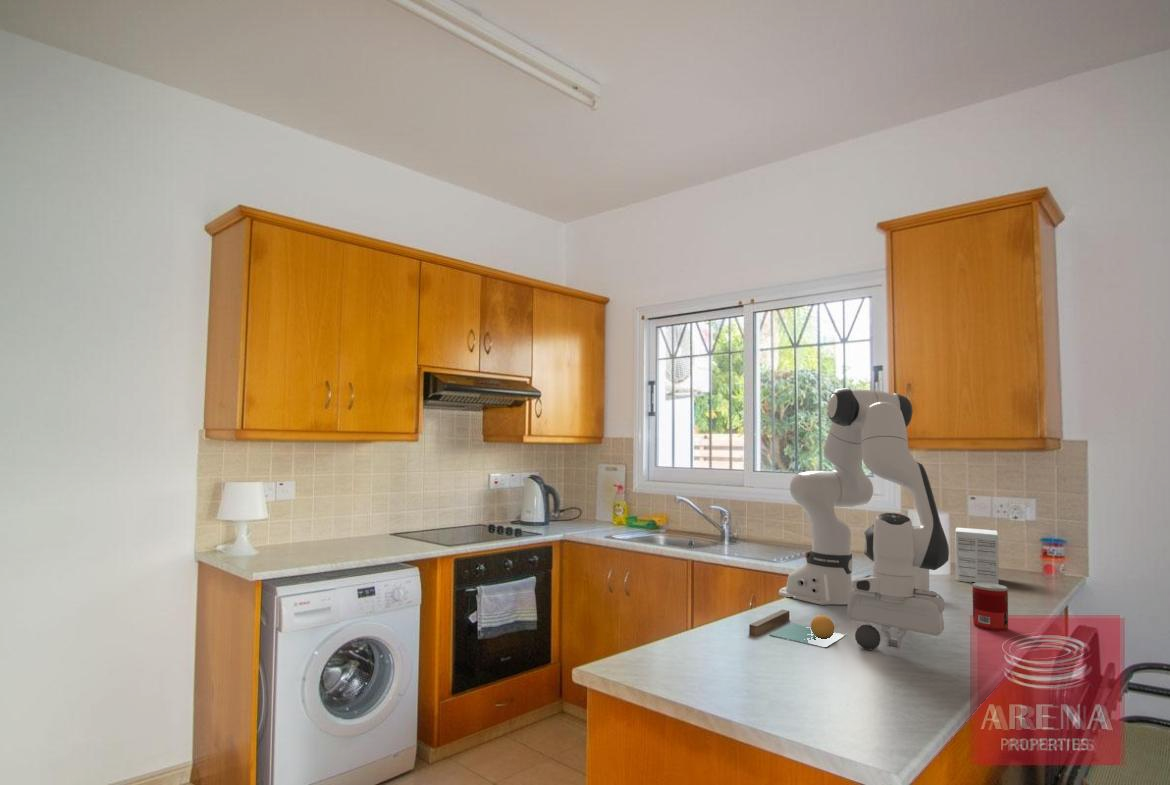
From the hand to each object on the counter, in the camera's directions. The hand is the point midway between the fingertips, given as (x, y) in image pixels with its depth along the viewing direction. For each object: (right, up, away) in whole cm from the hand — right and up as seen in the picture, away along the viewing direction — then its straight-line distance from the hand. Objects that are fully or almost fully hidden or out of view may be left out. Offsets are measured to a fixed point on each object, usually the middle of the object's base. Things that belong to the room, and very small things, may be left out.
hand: (894, 646), depth 153 cm
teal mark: (-15, -2, +13) cm, 20 cm away
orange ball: (-13, +1, +11) cm, 17 cm away
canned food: (+37, -4, +24) cm, 44 cm away
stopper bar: (-23, -2, +19) cm, 30 cm away
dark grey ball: (-5, +1, +3) cm, 6 cm away
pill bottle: (+33, -6, +58) cm, 67 cm away
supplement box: (+69, -9, +85) cm, 110 cm away
